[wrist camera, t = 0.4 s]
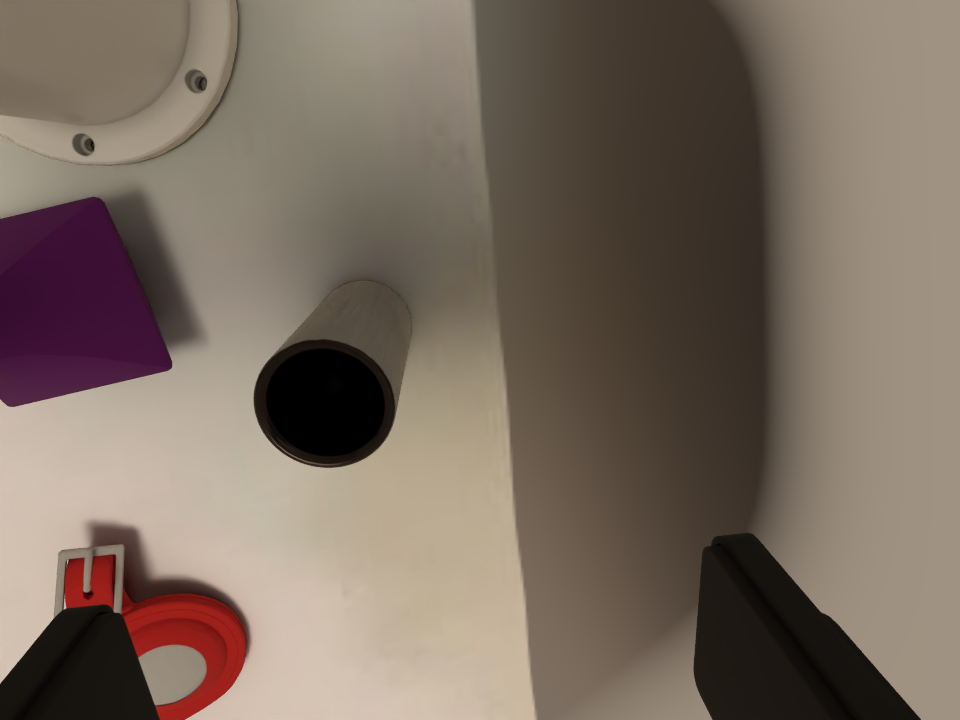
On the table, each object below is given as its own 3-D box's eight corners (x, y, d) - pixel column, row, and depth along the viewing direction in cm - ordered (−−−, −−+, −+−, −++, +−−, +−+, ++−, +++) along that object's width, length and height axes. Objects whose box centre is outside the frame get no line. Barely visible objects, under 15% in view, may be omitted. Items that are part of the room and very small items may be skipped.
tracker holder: (283, 643, 32) (164, 782, 32) (277, 592, 36) (171, 716, 36) (70, 551, 27) (-78, 720, 26) (90, 503, 30) (-39, 649, 30)
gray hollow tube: (307, 351, 28) (236, 445, 19) (334, 265, 27) (273, 318, 17) (395, 380, 29) (370, 486, 19) (425, 298, 28) (415, 367, 18)
